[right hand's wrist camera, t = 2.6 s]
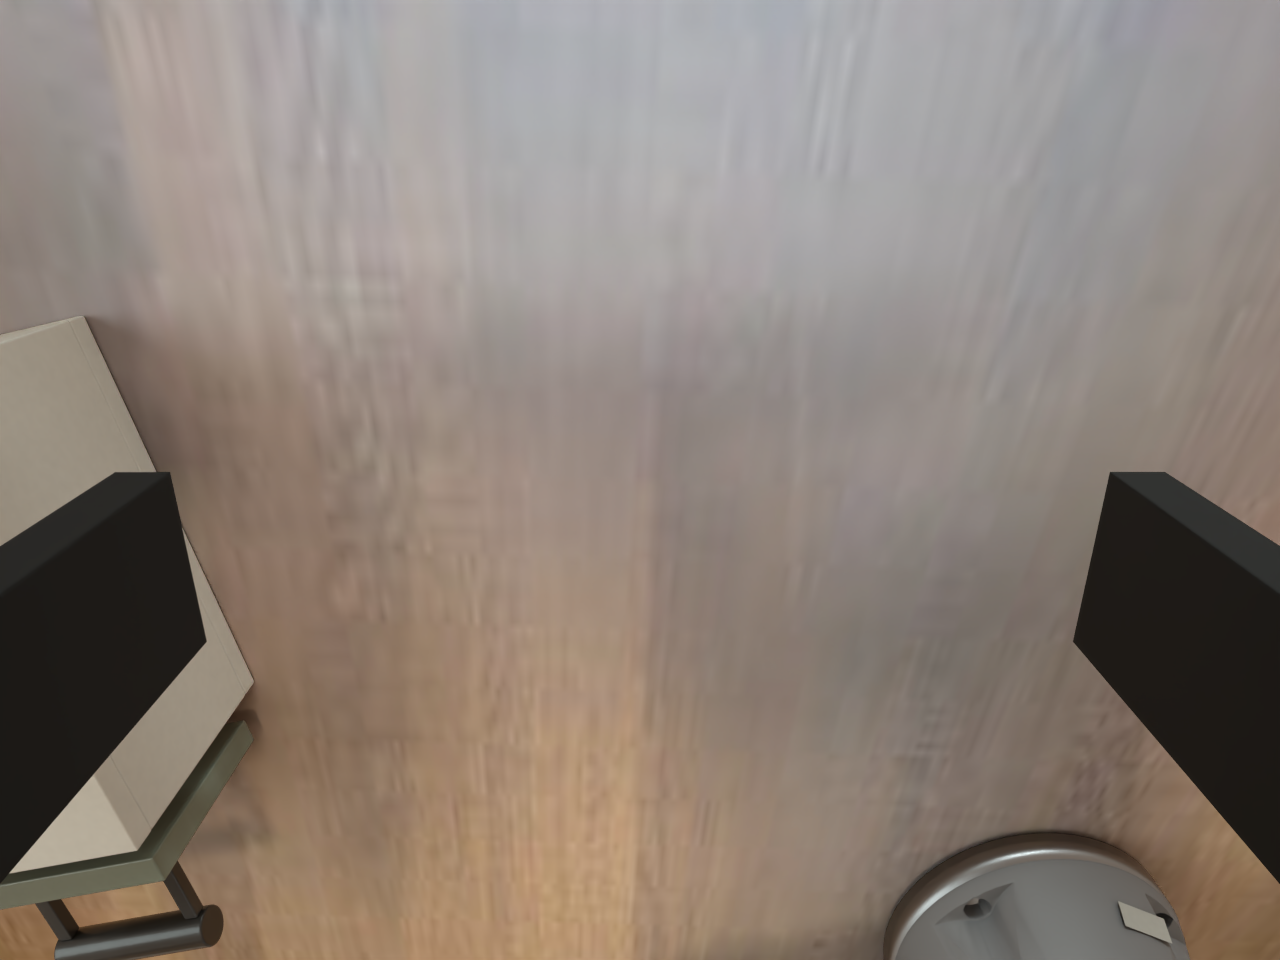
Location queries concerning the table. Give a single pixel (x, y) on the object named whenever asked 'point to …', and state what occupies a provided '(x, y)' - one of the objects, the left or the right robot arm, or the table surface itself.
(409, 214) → the table surface
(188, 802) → the drawer
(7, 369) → the cabinet
